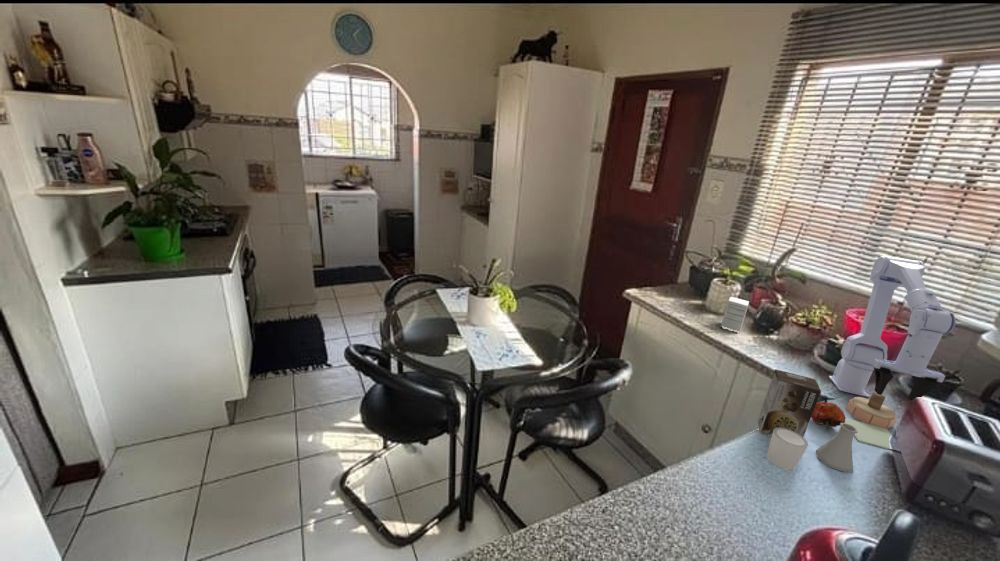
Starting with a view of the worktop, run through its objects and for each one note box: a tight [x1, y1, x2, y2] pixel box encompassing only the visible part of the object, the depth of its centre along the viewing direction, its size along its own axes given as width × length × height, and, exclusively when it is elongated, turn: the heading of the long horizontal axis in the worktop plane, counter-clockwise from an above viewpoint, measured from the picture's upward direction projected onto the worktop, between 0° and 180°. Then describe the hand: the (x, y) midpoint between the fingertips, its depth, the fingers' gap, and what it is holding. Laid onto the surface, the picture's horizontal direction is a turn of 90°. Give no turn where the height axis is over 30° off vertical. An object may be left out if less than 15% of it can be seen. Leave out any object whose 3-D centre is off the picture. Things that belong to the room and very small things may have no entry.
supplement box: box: [720, 296, 750, 332], centre depth 172 cm, size 7×7×13 cm
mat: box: [844, 417, 892, 450], centre depth 111 cm, size 10×10×1 cm
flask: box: [815, 423, 858, 473], centre depth 97 cm, size 7×7×10 cm
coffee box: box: [756, 369, 822, 438], centre depth 105 cm, size 9×6×16 cm
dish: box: [845, 398, 898, 430], centre depth 119 cm, size 10×10×3 cm
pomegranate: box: [811, 398, 846, 434], centre depth 112 cm, size 7×7×10 cm
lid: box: [852, 391, 896, 419], centre depth 118 cm, size 9×9×4 cm
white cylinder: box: [767, 428, 809, 471], centre depth 96 cm, size 7×7×7 cm
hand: (894, 396), depth 112 cm, fingers open, 7 cm apart
